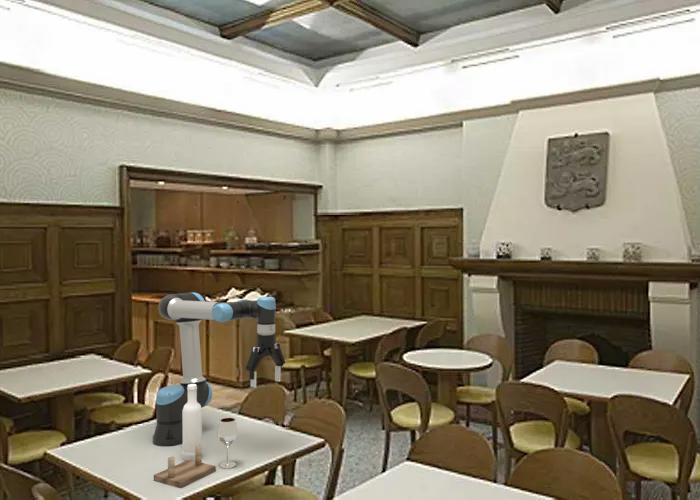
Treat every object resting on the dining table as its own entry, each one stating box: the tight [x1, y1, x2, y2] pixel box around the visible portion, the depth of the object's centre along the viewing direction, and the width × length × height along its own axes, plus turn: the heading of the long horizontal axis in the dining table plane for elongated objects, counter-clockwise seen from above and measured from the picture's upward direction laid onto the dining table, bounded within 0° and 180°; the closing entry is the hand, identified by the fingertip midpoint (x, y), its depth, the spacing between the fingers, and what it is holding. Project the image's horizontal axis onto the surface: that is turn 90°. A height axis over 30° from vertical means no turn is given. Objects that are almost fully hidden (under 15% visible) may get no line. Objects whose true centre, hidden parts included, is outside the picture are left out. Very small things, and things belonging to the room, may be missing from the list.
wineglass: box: [216, 417, 239, 469], centre depth 235 cm, size 8×8×18 cm
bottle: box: [181, 384, 203, 462], centre depth 243 cm, size 8×8×30 cm
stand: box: [153, 445, 217, 489], centre depth 224 cm, size 14×18×9 cm
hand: (265, 384), depth 250 cm, fingers open, 13 cm apart
